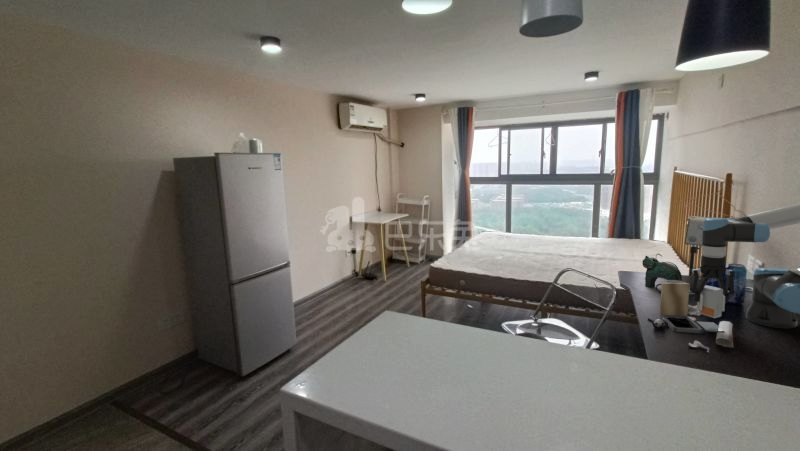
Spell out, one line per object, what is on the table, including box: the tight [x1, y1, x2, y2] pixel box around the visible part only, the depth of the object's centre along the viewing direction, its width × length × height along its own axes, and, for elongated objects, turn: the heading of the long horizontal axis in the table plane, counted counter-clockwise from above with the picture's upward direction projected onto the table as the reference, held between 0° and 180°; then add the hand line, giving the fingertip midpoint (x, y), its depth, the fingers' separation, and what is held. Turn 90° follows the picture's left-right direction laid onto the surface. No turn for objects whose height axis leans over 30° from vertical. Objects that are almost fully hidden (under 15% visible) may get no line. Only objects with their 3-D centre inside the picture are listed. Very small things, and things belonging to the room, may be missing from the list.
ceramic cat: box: [642, 253, 684, 288], centre depth 194 cm, size 20×6×20 cm, turn 17°
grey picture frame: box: [660, 314, 705, 334], centre depth 151 cm, size 10×15×2 cm, turn 161°
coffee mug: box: [655, 280, 686, 294], centre depth 177 cm, size 12×9×10 cm
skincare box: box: [698, 284, 723, 319], centre depth 146 cm, size 6×4×12 cm
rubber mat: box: [695, 320, 718, 333], centre depth 147 cm, size 6×9×1 cm, turn 161°
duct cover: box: [659, 282, 691, 316], centre depth 157 cm, size 10×15×1 cm
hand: (710, 309), depth 146 cm, fingers closed on skincare box, 7 cm apart
